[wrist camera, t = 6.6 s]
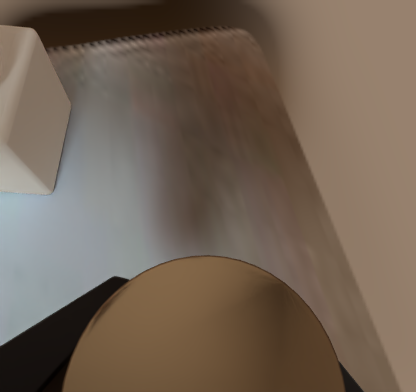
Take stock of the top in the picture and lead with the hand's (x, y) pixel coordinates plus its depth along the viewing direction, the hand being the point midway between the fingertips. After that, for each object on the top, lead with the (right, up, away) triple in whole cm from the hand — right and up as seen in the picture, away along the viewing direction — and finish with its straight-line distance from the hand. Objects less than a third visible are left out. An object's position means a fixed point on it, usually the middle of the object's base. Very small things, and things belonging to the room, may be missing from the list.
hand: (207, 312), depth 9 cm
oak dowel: (-1, -4, +6) cm, 7 cm away
